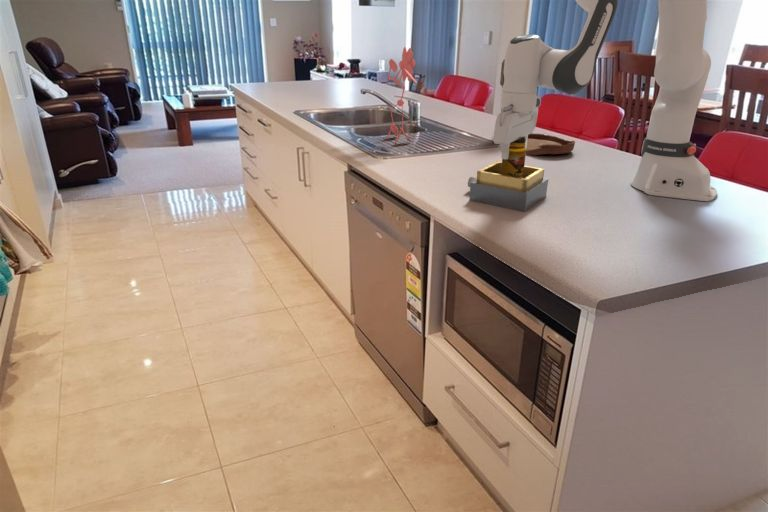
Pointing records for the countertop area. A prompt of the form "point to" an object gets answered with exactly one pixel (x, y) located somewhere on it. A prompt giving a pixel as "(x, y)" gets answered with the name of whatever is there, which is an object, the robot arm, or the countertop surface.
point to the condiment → (515, 159)
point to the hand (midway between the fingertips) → (512, 155)
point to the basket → (547, 145)
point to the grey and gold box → (508, 187)
